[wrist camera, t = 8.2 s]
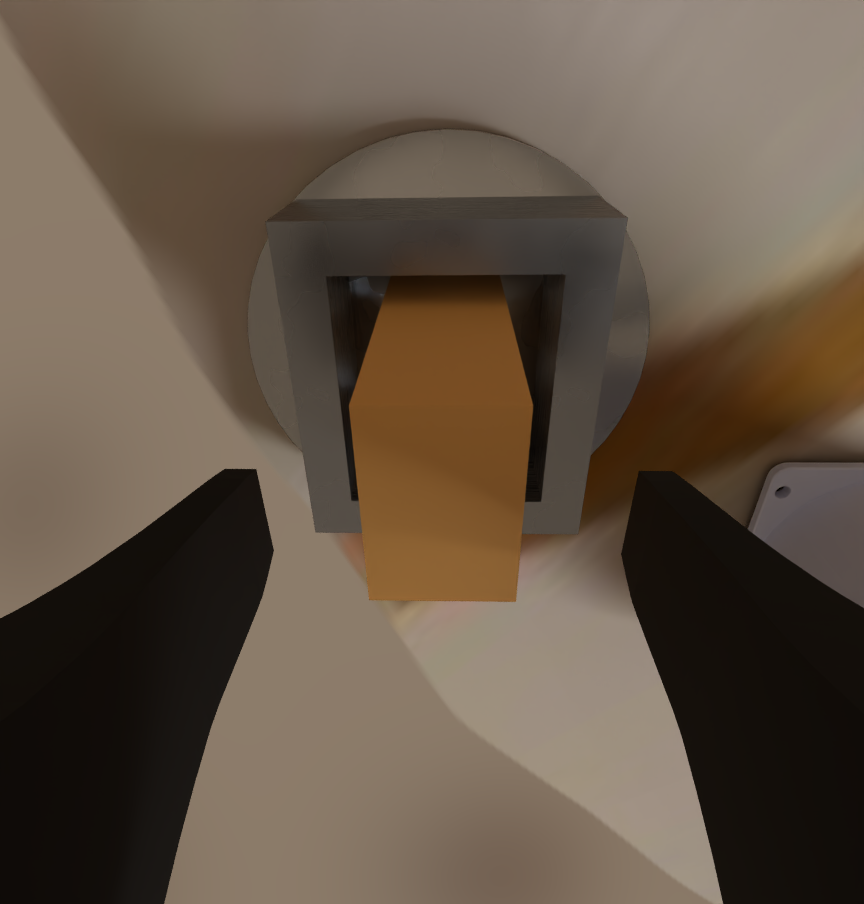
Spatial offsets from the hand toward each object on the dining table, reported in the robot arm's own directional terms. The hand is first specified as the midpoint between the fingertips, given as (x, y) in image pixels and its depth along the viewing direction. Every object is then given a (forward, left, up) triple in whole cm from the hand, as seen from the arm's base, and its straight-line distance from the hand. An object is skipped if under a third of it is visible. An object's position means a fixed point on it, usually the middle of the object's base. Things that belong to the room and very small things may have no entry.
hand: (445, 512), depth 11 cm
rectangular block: (0, 0, -8) cm, 8 cm away
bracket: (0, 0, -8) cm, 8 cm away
